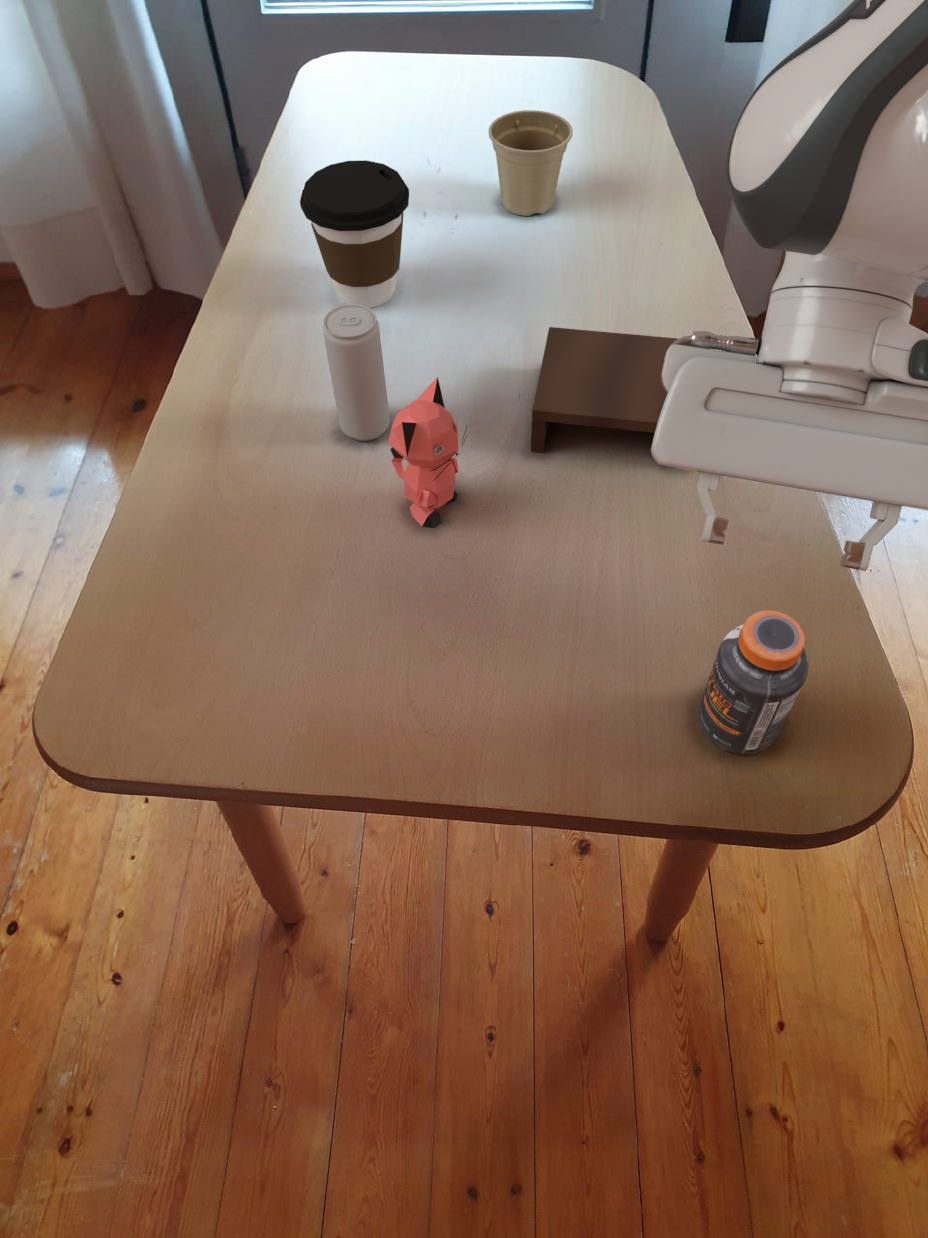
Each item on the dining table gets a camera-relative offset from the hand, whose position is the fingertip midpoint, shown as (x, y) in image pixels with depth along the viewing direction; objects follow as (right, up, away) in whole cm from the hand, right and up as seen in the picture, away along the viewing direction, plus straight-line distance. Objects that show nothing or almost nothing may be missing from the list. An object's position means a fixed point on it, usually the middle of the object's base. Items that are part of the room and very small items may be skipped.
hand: (781, 555), depth 64 cm
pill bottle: (-1, -12, +6) cm, 13 cm away
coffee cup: (-32, +31, +38) cm, 59 cm away
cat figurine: (-25, +6, +19) cm, 32 cm away
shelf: (-8, +15, +26) cm, 31 cm away
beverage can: (-31, +14, +26) cm, 43 cm away
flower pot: (-14, +45, +48) cm, 68 cm away
